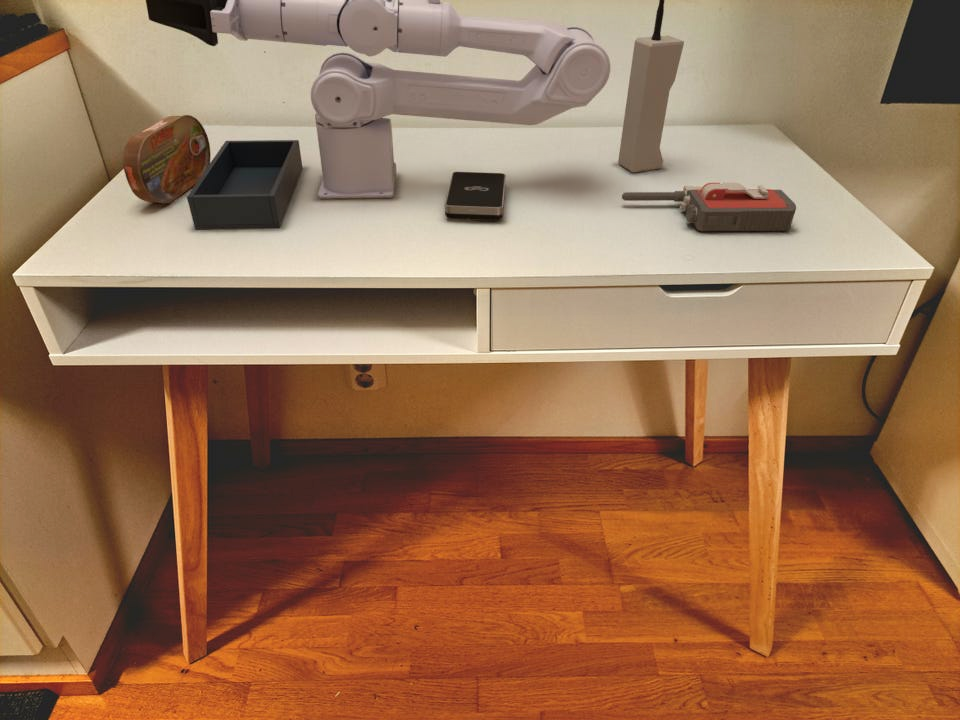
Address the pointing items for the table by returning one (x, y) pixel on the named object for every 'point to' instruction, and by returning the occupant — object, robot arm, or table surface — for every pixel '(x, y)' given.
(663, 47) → the vintage mobile phone
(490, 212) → the external hard drive
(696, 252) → the table surface
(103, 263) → the table surface
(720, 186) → the walkie-talkie
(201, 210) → the bin
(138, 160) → the tin
